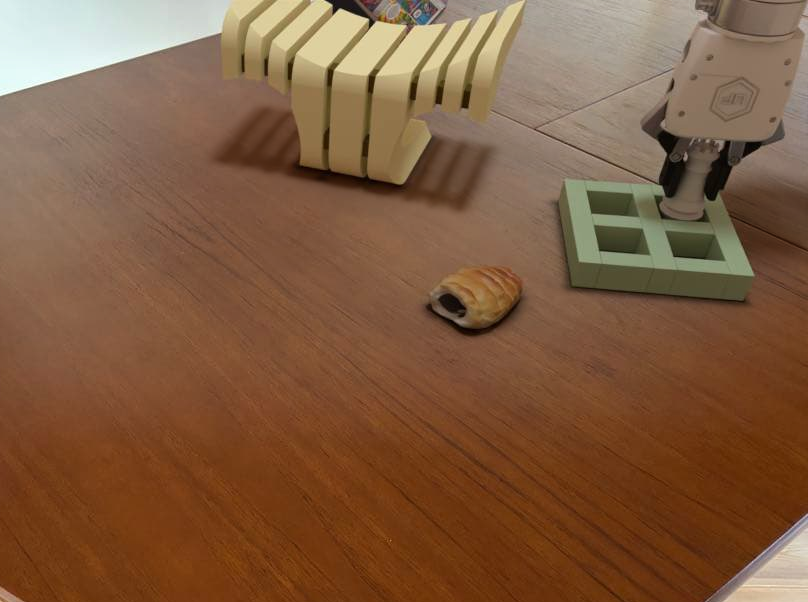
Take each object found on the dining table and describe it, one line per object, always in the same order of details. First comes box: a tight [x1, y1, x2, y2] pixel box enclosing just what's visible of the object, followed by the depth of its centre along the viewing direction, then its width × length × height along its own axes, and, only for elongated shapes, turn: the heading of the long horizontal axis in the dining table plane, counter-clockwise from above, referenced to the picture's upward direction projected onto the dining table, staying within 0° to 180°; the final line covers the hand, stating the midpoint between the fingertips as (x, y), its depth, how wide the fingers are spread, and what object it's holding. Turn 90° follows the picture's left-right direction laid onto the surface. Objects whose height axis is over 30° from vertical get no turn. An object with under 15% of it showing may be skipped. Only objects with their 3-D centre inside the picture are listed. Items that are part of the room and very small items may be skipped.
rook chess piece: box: [659, 138, 720, 222], centre depth 89 cm, size 4×4×8 cm
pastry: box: [428, 265, 524, 330], centre depth 83 cm, size 9×7×4 cm
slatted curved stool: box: [220, 0, 527, 186], centre depth 100 cm, size 30×16×18 cm, turn 67°
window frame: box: [557, 178, 755, 302], centre depth 90 cm, size 16×16×3 cm
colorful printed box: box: [311, 0, 449, 53], centre depth 121 cm, size 20×22×18 cm
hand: (688, 191), depth 90 cm, fingers closed on rook chess piece, 3 cm apart
